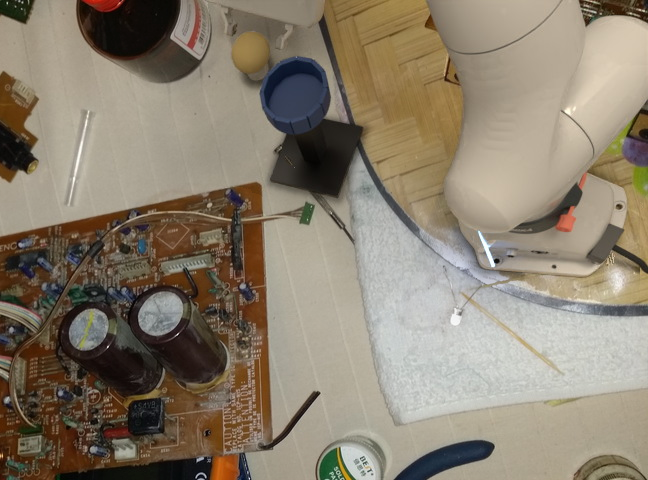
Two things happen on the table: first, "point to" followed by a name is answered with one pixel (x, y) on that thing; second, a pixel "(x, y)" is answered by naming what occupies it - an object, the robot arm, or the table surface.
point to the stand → (318, 158)
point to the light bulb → (251, 54)
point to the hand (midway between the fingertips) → (254, 41)
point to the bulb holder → (295, 95)
